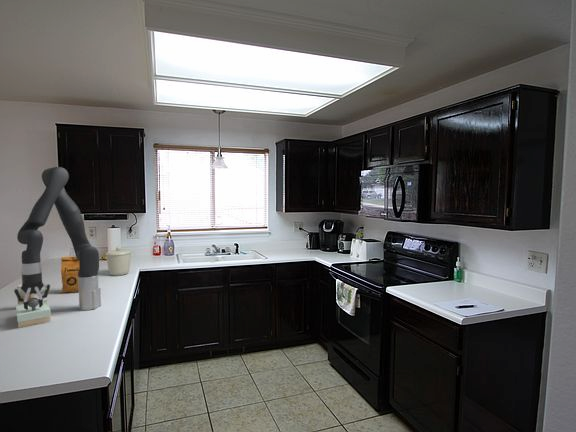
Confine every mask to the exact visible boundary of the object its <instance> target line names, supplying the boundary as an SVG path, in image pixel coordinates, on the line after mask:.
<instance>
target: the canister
mask: <svg viewBox="0 0 576 432" xmlns="http://www.w3.org/2000/svg"><path fill="white" fill-rule="evenodd" d="M132 253H133V251H131V250H129V249H122V247H121V246H116V248H115V249H114V250H109V251H107V252H105V256H106V262H107V264H106V265H107V269H108V273H109V274H110V275H111V276H115V277H117V276H125V275H127V274H129V273H130V269H131V260H132Z"/></svg>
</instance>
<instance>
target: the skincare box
mask: <svg viewBox="0 0 576 432" xmlns="http://www.w3.org/2000/svg"><path fill="white" fill-rule="evenodd" d="M21 286H22V284H19V285H17V288H16V289H18V288H20V287H21ZM19 294H20V296H21V298H24V296H25V292H24V291H23V290H21V292H20V293H19ZM16 298H17V297H16ZM31 298H35V297H34V294H30V295H29V296H28V299H27V302H28V300H29V299H31ZM21 304H24V302H19V300H18V298H17V305H21Z"/></svg>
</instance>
